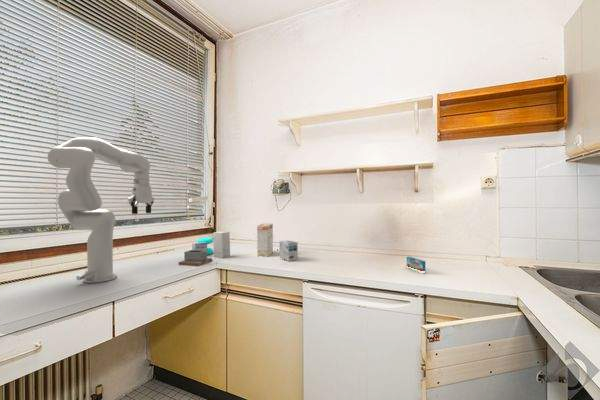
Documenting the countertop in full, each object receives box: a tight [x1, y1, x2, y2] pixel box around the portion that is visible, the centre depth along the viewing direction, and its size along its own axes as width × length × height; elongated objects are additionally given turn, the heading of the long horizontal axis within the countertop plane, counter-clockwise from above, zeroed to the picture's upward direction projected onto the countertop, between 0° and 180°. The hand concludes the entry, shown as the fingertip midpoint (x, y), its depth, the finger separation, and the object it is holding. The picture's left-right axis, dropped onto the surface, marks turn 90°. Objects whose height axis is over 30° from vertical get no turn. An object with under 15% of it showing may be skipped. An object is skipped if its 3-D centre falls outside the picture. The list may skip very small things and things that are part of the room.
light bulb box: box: [279, 239, 299, 262], centre depth 175 cm, size 11×7×11 cm, turn 35°
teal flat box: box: [406, 256, 426, 272], centre depth 148 cm, size 12×2×6 cm, turn 18°
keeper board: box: [178, 257, 213, 267], centre depth 165 cm, size 14×12×6 cm
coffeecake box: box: [256, 222, 274, 257], centre depth 190 cm, size 15×7×20 cm, turn 172°
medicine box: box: [191, 242, 208, 251], centre depth 183 cm, size 8×4×9 cm, turn 131°
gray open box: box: [183, 249, 208, 262], centre depth 165 cm, size 6×10×5 cm, turn 75°
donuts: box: [196, 237, 214, 256], centre depth 192 cm, size 10×10×10 cm
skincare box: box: [212, 230, 231, 259], centre depth 181 cm, size 8×7×16 cm
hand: (141, 213), depth 163 cm, fingers open, 9 cm apart
